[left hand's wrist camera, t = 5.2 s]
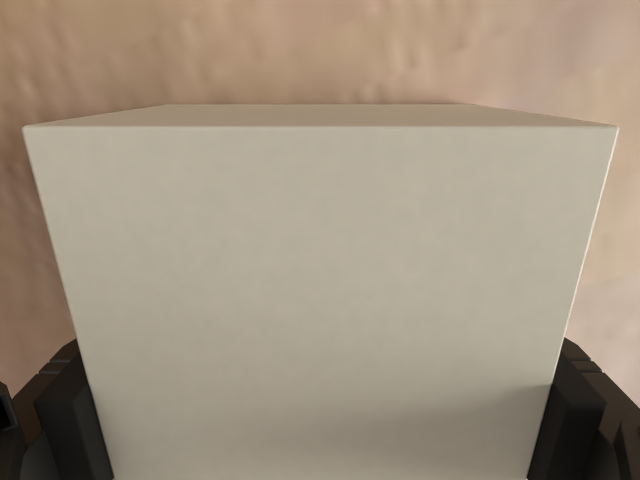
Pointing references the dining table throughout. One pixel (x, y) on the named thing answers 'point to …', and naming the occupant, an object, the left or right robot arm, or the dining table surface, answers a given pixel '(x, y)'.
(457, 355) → the beam
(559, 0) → the dining table surface
